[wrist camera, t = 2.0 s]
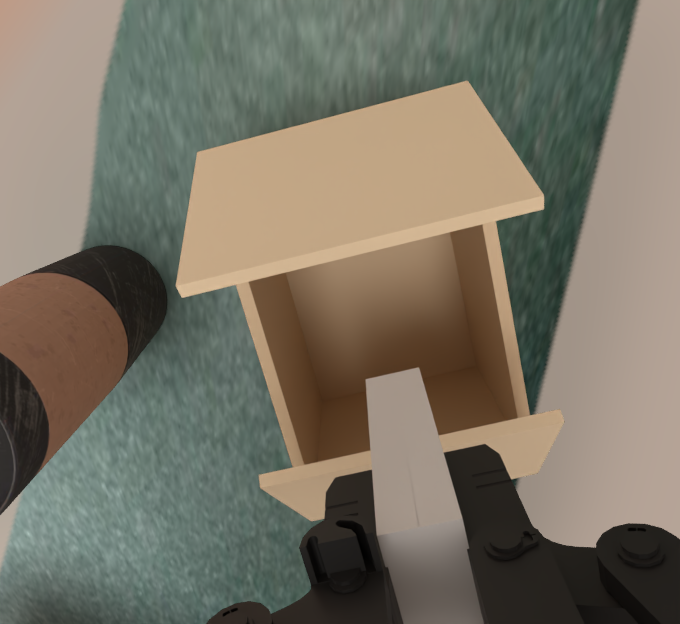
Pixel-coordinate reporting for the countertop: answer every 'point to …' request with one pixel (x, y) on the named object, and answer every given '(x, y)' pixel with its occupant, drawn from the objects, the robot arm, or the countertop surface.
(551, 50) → the countertop surface
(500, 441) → the far flap
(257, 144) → the near flap
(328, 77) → the countertop surface
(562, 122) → the countertop surface
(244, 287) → the carton
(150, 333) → the travel mug
